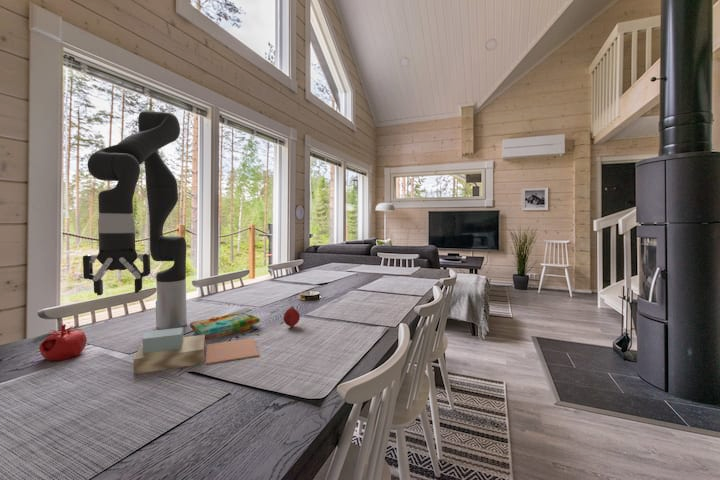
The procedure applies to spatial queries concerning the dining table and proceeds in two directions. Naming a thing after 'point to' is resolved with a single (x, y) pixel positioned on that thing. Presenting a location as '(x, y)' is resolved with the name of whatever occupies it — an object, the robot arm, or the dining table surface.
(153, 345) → the pale teal block
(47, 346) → the red tomato
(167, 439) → the dining table surface
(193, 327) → the puzzle game
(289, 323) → the onion
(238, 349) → the tan flat square slab
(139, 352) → the birch deck
